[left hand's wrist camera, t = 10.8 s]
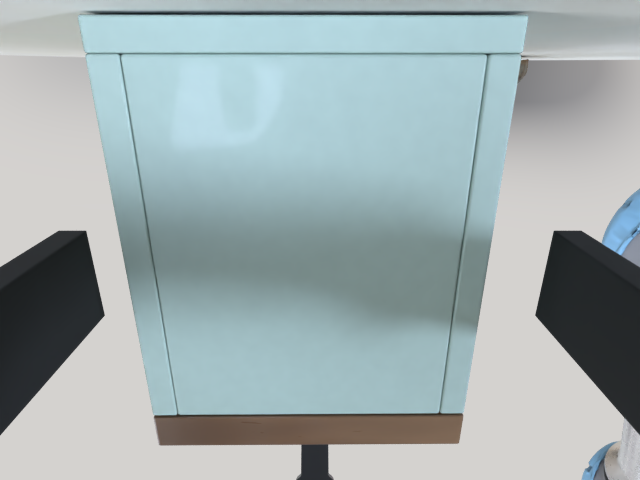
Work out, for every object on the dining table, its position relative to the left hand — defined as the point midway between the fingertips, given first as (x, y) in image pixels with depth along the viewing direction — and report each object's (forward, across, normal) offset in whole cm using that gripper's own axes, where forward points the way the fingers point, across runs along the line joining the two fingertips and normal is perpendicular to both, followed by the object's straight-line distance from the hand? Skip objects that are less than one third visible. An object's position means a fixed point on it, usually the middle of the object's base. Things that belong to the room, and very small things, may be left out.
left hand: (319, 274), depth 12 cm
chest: (+7, 0, -6) cm, 10 cm away
